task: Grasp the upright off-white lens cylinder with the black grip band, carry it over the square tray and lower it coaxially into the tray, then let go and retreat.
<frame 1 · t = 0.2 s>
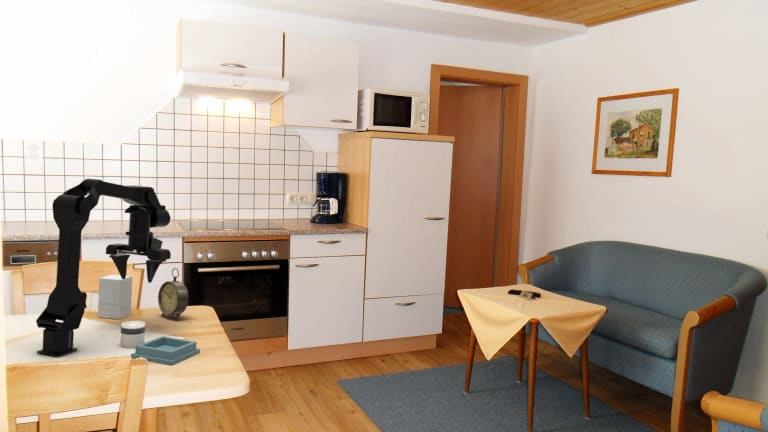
hand: (136, 280, 172), 14 cm above the table, fingers open, 9 cm apart
lens: (132, 345, 157), on the table
alarm clock: (173, 318, 188), on the table
supplement box: (114, 316, 185), on the table
square tray: (166, 355, 151), on the table
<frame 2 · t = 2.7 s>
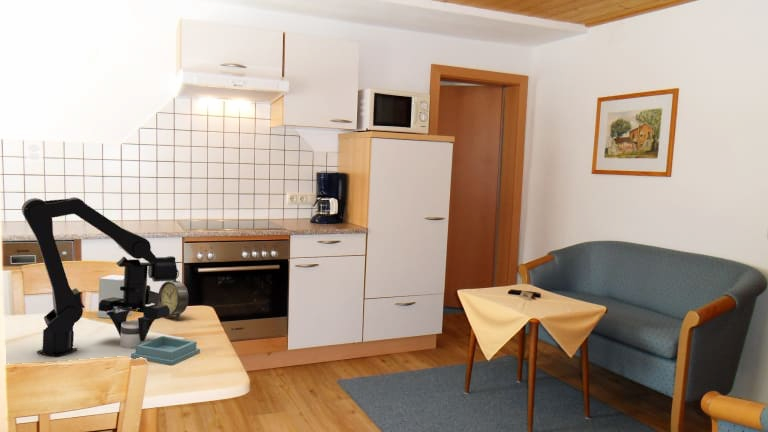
hand: (132, 339, 157), 2 cm above the table, fingers closed on lens, 6 cm apart
lens: (132, 344, 157), on the table, touching gripper
everything else where it was.
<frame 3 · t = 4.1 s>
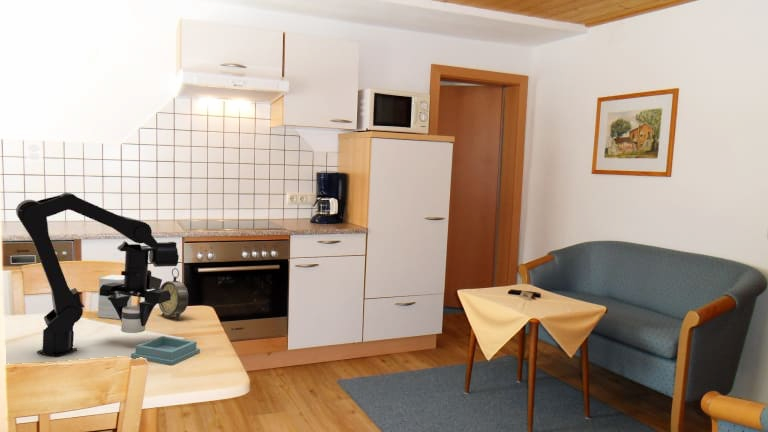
hand: (133, 324, 157), 6 cm above the table, fingers closed on lens, 6 cm apart
lens: (133, 329, 157), point 4 cm above the table, touching gripper
everything else where it was.
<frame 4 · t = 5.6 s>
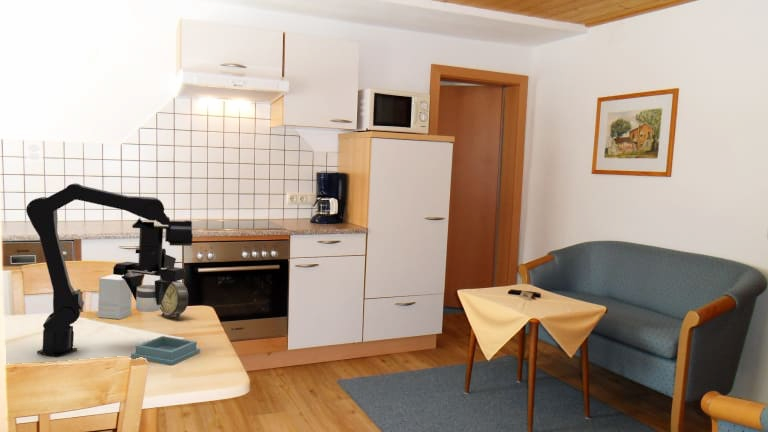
hand: (148, 303, 154), 12 cm above the table, fingers closed on lens, 6 cm apart
lens: (148, 309, 154), point 11 cm above the table, touching gripper
everything else where it was.
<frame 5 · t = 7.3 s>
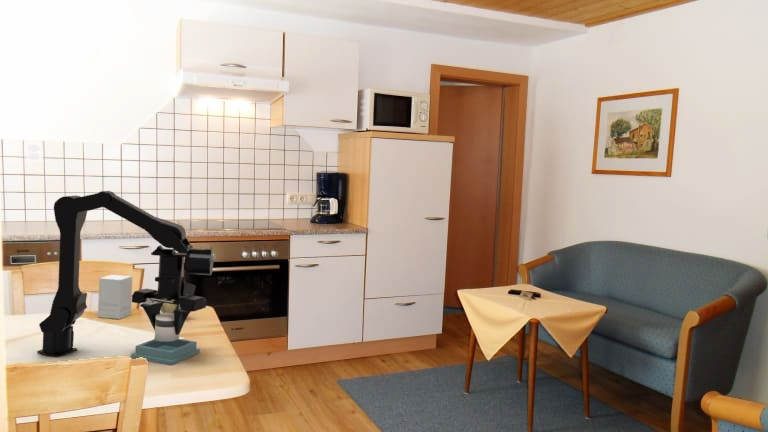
hand: (167, 332, 150), 6 cm above the table, fingers closed on lens, 6 cm apart
lens: (166, 338, 150), point 4 cm above the table, touching gripper
everything else where it was.
when the fingers open (4 cm above the table, at t = 8.6 s): lens drops 1 cm, resting on square tray.
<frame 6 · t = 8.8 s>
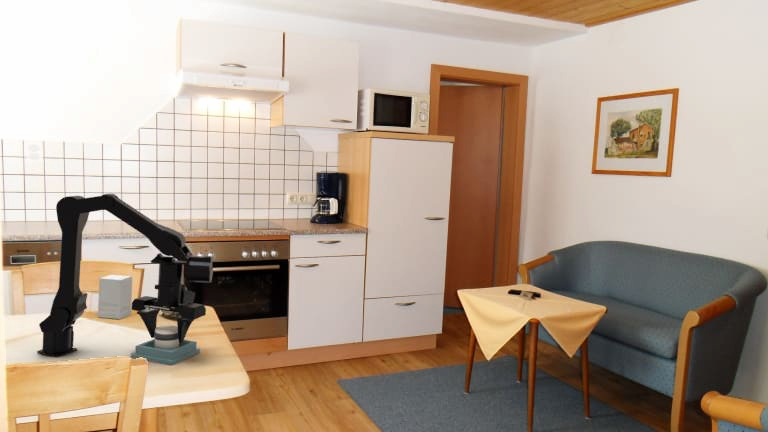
hand: (166, 340, 150), 4 cm above the table, fingers open, 8 cm apart
lens: (166, 351, 151), point 1 cm above the table, touching square tray
everything else where it was.
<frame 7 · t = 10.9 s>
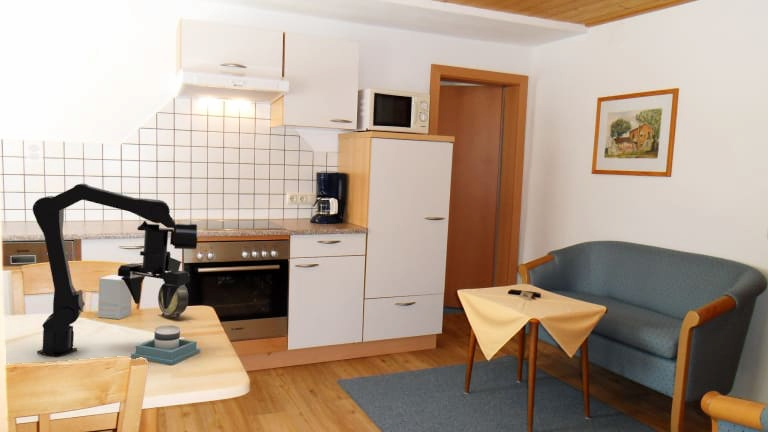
hand: (151, 306, 154), 12 cm above the table, fingers open, 9 cm apart
nothing on the table moved.
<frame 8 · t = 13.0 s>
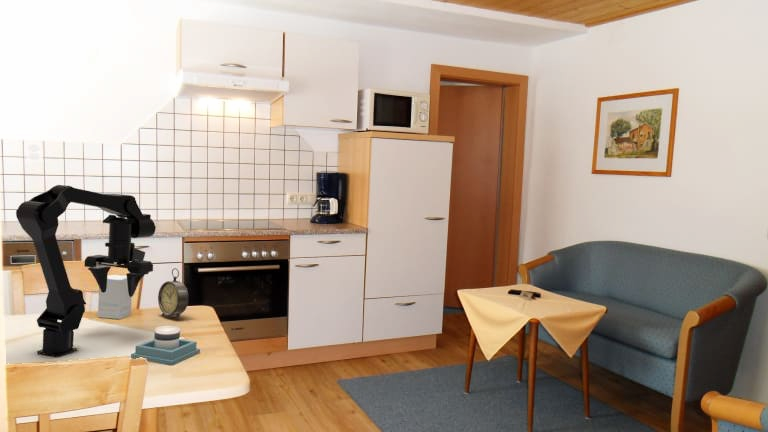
hand: (117, 294, 163), 12 cm above the table, fingers open, 9 cm apart
nothing on the table moved.
at the end: lens 0.1 cm off-centre on the square tray, point 1.0 cm above the square tray's base; lens tilted 0°; the gripper is holding nothing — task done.
